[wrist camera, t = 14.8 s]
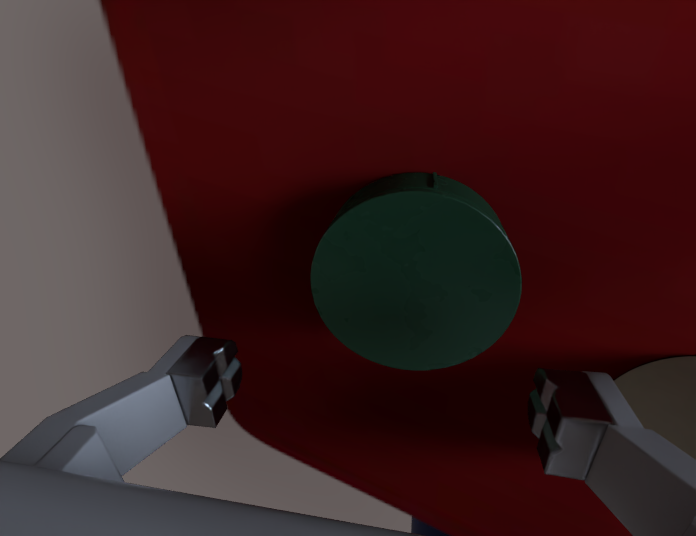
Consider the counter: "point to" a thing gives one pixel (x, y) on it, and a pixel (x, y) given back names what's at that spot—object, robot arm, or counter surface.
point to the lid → (416, 273)
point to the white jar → (665, 399)
